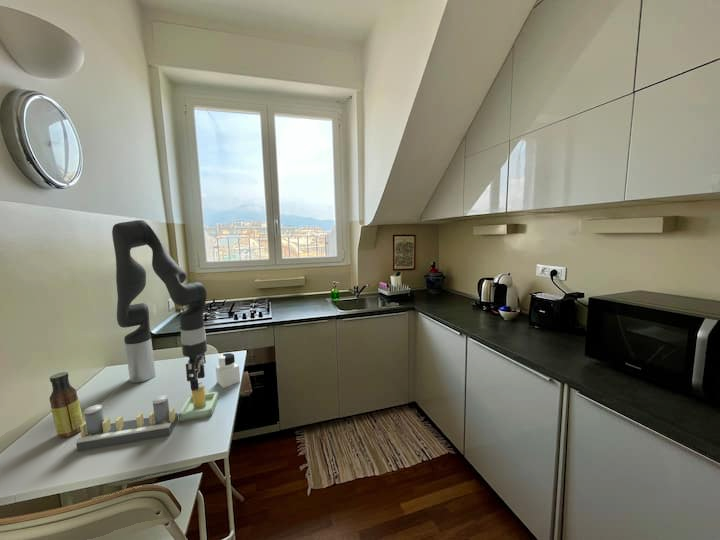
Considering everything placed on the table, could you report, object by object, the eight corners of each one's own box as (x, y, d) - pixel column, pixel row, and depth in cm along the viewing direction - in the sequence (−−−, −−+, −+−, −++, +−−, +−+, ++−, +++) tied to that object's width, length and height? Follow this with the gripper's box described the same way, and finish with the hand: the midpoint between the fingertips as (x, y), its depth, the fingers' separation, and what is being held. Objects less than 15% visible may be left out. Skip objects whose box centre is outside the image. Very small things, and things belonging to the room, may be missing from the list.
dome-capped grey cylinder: (93, 429, 92) (89, 405, 91) (108, 427, 93) (104, 403, 92) (84, 438, 88) (80, 413, 87) (100, 435, 89) (96, 411, 88)
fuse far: (158, 419, 97) (155, 396, 96) (172, 417, 98) (169, 394, 97) (153, 426, 93) (150, 403, 92) (167, 424, 94) (164, 400, 93)
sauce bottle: (82, 423, 100) (73, 367, 97) (86, 431, 96) (76, 372, 93) (54, 434, 95) (44, 375, 92) (57, 442, 91) (46, 381, 88)
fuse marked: (195, 404, 108) (193, 383, 107) (207, 402, 109) (205, 382, 108) (192, 410, 104) (189, 389, 103) (204, 408, 105) (202, 387, 104)
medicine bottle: (233, 376, 130) (231, 350, 129) (240, 381, 125) (238, 354, 124) (216, 382, 125) (214, 355, 124) (223, 388, 120) (220, 360, 119)
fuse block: (93, 433, 94) (90, 416, 93) (179, 419, 100) (177, 403, 99) (76, 451, 86) (73, 432, 86) (170, 435, 92) (168, 417, 92)
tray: (189, 402, 111) (189, 395, 110) (218, 397, 113) (218, 391, 113) (179, 421, 99) (178, 414, 99) (211, 416, 102) (210, 409, 101)
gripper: (188, 334, 109) (192, 375, 111) (174, 349, 95) (179, 395, 98) (210, 332, 111) (214, 372, 113) (200, 346, 97) (204, 392, 100)
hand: (198, 383), depth 105 cm, fingers open, 8 cm apart
